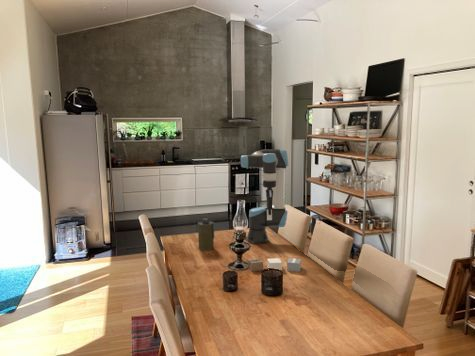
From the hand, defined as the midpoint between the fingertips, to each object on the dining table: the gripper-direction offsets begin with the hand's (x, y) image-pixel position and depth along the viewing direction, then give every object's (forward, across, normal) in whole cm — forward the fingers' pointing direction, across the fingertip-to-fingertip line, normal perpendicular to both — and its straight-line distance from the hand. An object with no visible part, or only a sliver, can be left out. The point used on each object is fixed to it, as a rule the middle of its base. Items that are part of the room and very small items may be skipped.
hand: (269, 219), depth 224 cm
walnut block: (+27, +8, -9) cm, 29 cm away
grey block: (+27, +10, +13) cm, 31 cm away
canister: (+27, -30, -39) cm, 56 cm away
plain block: (+27, +9, +2) cm, 28 cm away
